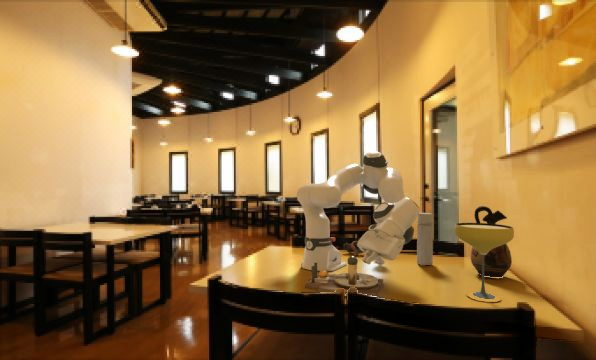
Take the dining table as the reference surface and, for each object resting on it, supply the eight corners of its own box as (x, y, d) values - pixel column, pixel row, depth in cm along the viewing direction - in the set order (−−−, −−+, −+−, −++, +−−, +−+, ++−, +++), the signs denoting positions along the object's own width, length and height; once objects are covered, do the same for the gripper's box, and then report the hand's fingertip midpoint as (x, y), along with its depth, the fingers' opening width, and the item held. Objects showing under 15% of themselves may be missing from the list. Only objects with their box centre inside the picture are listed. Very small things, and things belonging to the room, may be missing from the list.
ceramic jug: (510, 274, 151) (510, 206, 151) (512, 283, 138) (513, 208, 138) (467, 269, 159) (467, 204, 159) (465, 277, 146) (466, 206, 146)
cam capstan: (321, 274, 139) (321, 246, 139) (376, 277, 135) (376, 249, 135) (316, 287, 122) (316, 255, 122) (379, 291, 118) (379, 258, 118)
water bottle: (428, 267, 162) (428, 214, 163) (413, 264, 169) (413, 213, 169) (438, 264, 168) (438, 213, 168) (423, 261, 174) (423, 212, 175)
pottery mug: (363, 253, 196) (366, 242, 192) (361, 264, 188) (365, 252, 184) (342, 247, 198) (346, 236, 194) (340, 257, 190) (343, 246, 186)
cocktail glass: (445, 289, 128) (445, 222, 128) (492, 289, 129) (492, 222, 129) (472, 307, 110) (472, 229, 110) (526, 306, 111) (527, 229, 111)
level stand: (318, 276, 144) (318, 257, 144) (383, 284, 134) (383, 263, 134) (301, 291, 125) (301, 269, 125) (375, 300, 115) (375, 276, 115)
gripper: (412, 244, 117) (388, 275, 114) (377, 235, 136) (355, 262, 132) (402, 231, 116) (377, 262, 112) (367, 224, 135) (345, 251, 131)
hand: (365, 262), depth 122 cm, fingers closed
